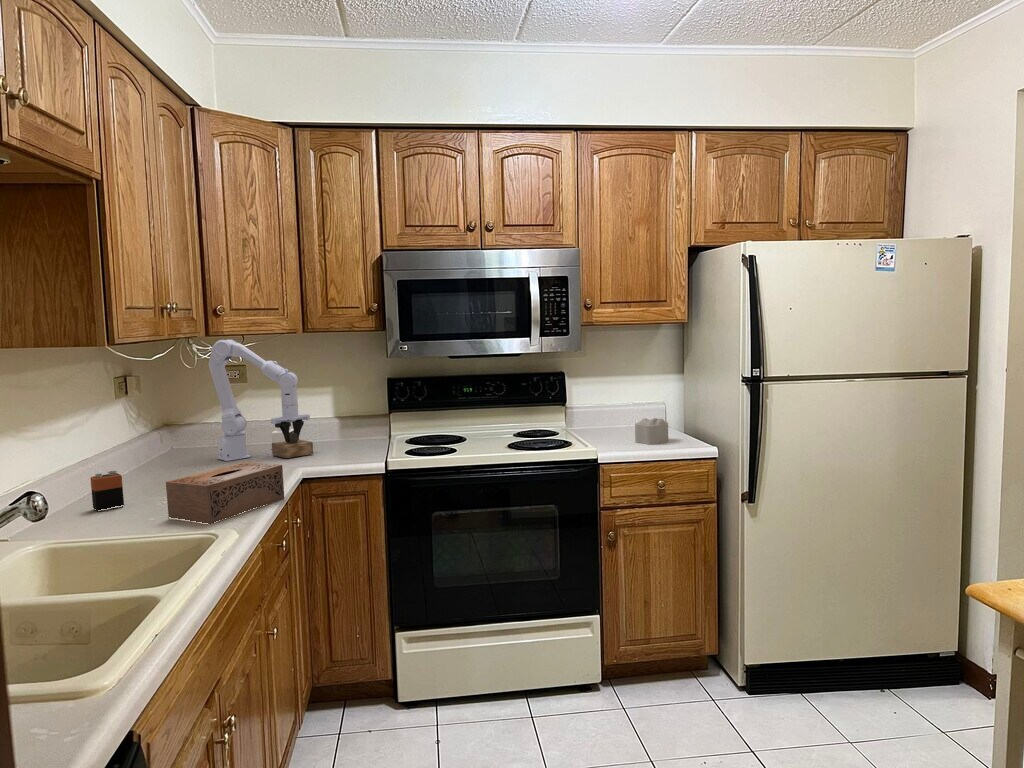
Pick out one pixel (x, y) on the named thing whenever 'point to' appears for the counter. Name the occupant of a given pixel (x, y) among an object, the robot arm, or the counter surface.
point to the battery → (107, 490)
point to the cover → (292, 447)
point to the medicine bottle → (279, 433)
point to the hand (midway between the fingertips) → (292, 440)
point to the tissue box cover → (224, 491)
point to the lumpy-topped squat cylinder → (651, 431)
